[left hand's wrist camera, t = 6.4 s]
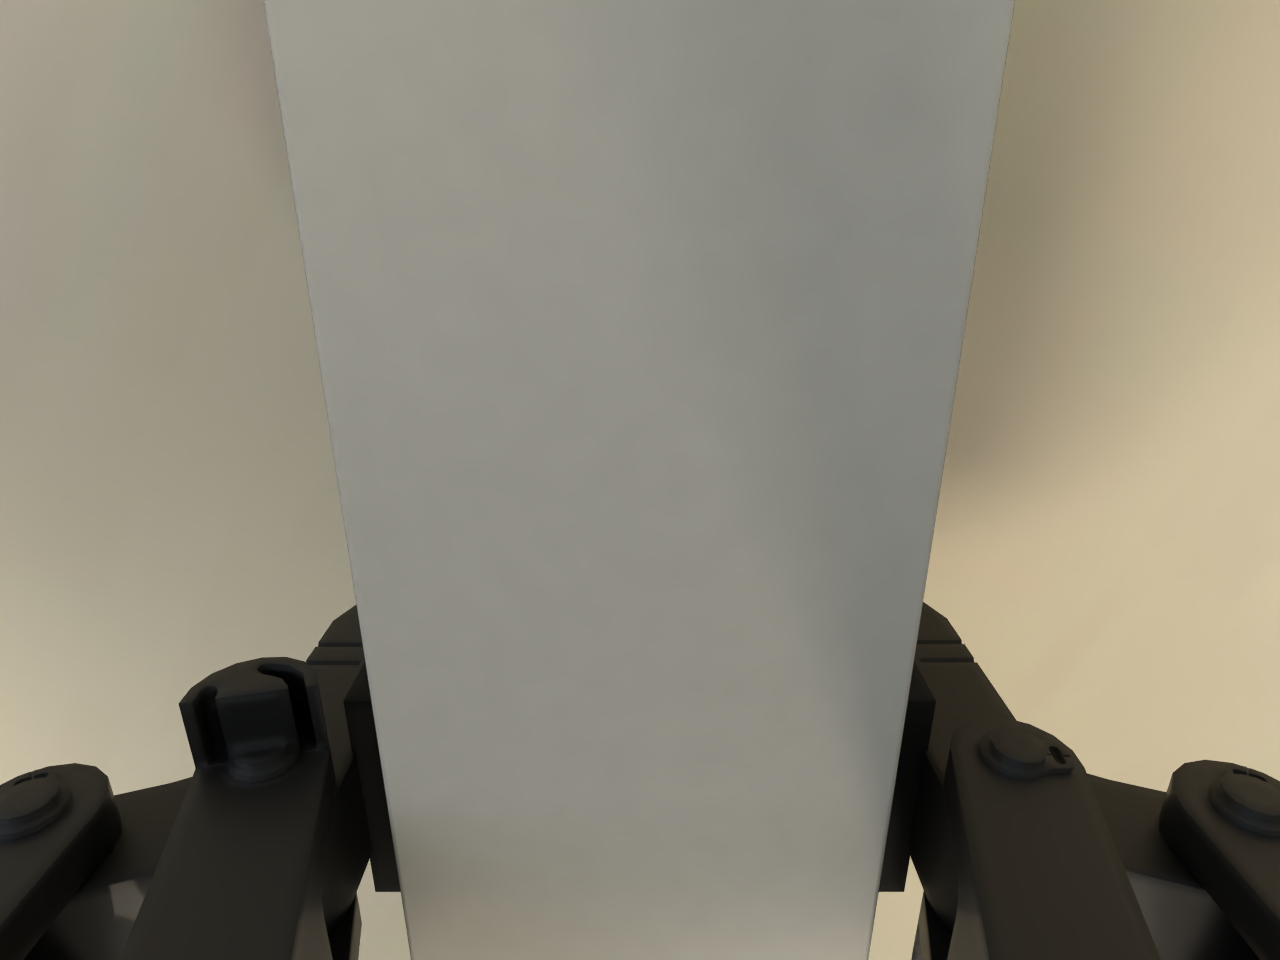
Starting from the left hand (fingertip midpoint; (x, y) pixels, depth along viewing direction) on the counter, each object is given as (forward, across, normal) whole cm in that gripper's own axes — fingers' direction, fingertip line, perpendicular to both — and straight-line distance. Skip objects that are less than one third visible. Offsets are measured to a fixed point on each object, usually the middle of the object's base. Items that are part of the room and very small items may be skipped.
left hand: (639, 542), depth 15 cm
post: (+1, 0, -30) cm, 30 cm away
